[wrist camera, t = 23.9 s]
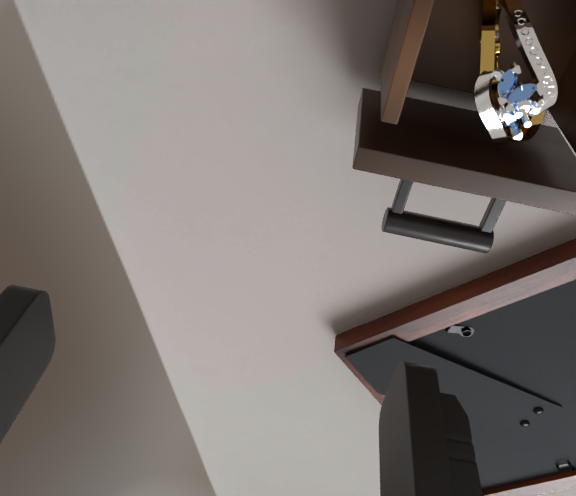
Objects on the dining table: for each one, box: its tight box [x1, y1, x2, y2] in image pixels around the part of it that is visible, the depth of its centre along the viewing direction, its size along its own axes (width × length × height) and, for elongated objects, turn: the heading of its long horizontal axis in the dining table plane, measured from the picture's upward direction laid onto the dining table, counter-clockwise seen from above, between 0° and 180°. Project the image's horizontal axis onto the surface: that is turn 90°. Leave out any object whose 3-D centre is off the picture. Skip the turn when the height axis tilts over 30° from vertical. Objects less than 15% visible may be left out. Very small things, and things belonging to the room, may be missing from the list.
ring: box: [474, 0, 558, 146], centre depth 25 cm, size 7×3×8 cm, turn 10°
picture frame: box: [334, 239, 576, 496], centre depth 45 cm, size 20×2×25 cm
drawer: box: [353, 0, 576, 253], centre depth 26 cm, size 18×11×8 cm, turn 171°
